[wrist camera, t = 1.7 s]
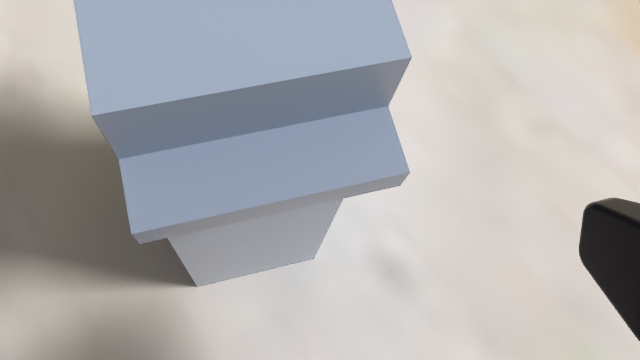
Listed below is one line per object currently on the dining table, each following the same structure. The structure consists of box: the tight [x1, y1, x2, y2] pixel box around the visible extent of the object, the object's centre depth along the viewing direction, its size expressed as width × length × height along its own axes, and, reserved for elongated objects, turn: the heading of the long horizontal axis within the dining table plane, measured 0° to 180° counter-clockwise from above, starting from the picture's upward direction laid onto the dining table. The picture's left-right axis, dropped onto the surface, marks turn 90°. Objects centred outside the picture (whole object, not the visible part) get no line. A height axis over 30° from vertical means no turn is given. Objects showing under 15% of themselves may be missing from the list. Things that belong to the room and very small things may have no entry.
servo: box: [74, 0, 412, 287], centre depth 13 cm, size 7×4×14 cm, turn 15°
